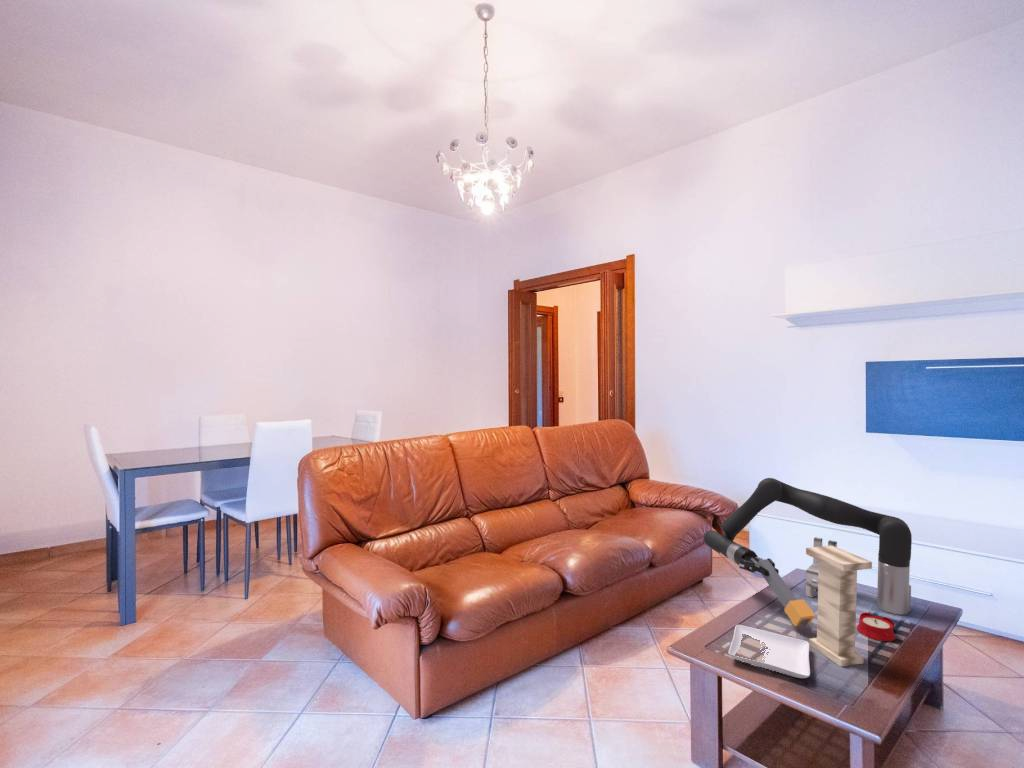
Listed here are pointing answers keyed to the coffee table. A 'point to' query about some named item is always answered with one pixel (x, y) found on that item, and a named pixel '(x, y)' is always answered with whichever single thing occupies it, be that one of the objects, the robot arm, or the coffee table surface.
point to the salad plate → (775, 651)
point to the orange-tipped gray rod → (787, 597)
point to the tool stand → (837, 603)
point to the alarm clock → (876, 627)
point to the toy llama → (815, 570)
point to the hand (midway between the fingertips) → (772, 573)
